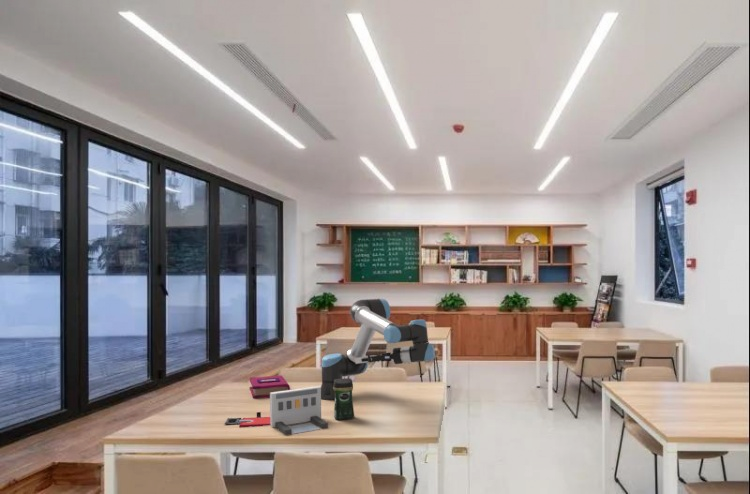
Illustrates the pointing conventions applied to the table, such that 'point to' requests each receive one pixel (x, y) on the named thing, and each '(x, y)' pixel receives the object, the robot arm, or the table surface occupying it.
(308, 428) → the pad
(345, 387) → the coffee jar
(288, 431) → the cord cover
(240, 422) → the red board with handle
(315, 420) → the cord cover
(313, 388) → the breaker panel
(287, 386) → the book
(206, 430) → the table surface
